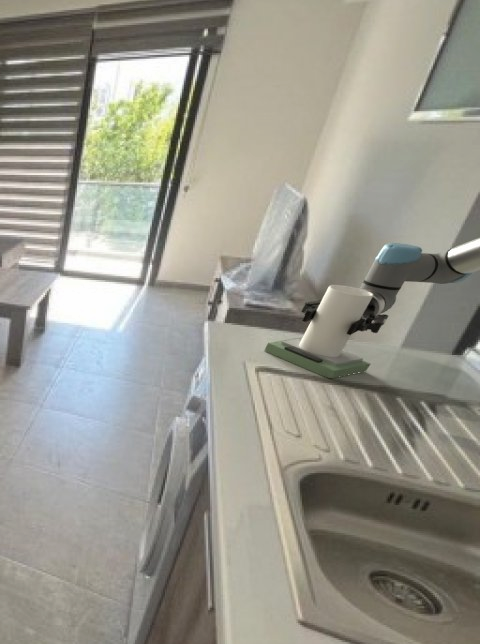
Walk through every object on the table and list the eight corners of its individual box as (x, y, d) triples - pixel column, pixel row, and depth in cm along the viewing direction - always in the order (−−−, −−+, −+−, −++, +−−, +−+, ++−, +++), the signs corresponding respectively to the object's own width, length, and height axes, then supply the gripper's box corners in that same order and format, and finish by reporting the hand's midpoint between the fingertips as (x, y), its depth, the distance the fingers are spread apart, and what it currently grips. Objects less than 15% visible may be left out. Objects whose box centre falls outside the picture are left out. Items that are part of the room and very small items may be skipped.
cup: (336, 348, 124) (369, 289, 116) (342, 360, 118) (377, 298, 110) (297, 340, 128) (326, 282, 120) (301, 351, 121) (332, 291, 114)
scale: (365, 371, 120) (372, 360, 118) (330, 379, 115) (336, 367, 114) (298, 345, 133) (303, 334, 131) (264, 350, 128) (269, 340, 127)
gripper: (404, 334, 122) (375, 353, 110) (306, 307, 137) (272, 321, 126) (421, 307, 118) (393, 323, 107) (319, 282, 133) (285, 294, 122)
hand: (328, 322), depth 116 cm, fingers closed on cup, 8 cm apart
